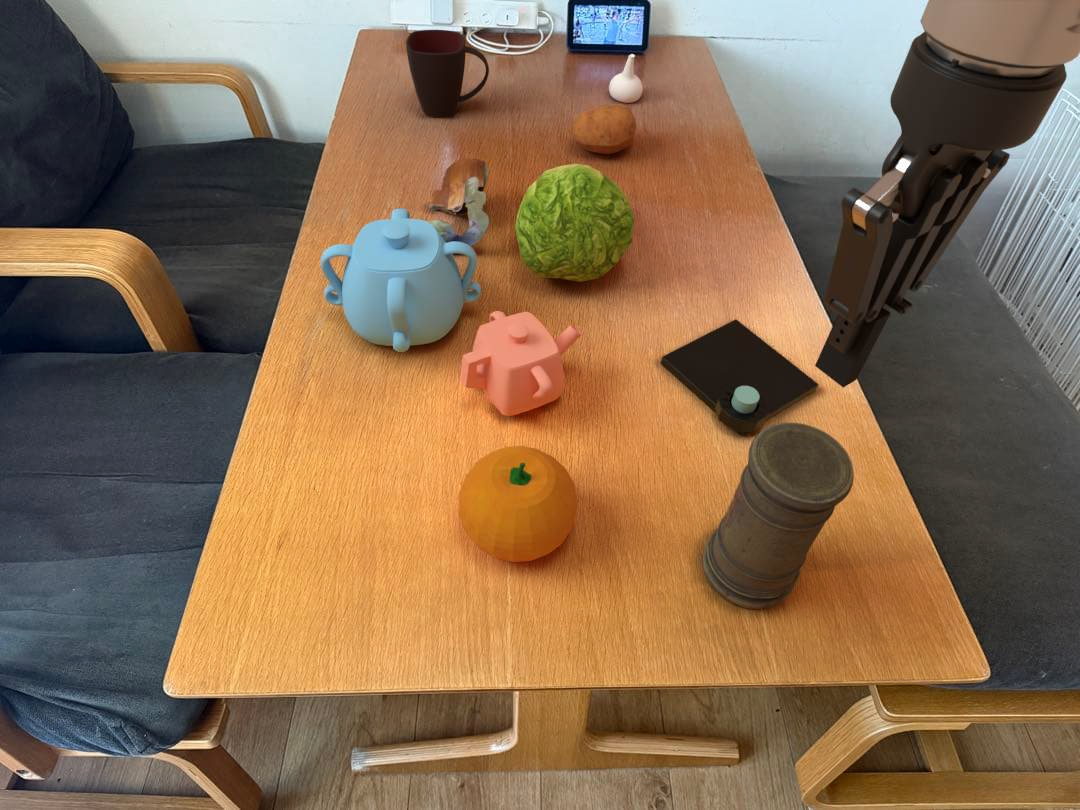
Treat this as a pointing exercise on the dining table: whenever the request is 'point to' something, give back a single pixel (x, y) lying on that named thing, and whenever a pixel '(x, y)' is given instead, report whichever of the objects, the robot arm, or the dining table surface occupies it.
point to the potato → (604, 128)
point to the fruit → (518, 503)
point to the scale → (738, 375)
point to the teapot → (517, 362)
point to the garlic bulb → (626, 84)
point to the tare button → (745, 399)
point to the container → (776, 514)
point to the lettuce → (573, 224)
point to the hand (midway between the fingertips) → (835, 372)
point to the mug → (440, 70)
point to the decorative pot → (401, 282)
